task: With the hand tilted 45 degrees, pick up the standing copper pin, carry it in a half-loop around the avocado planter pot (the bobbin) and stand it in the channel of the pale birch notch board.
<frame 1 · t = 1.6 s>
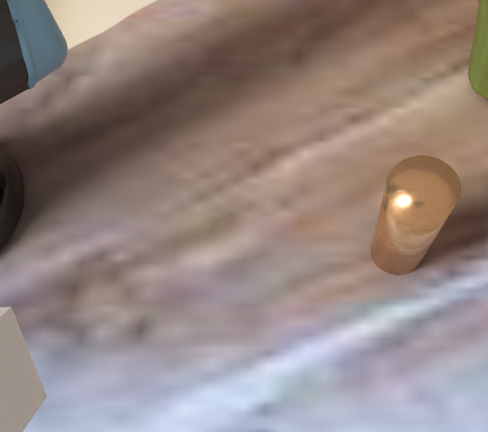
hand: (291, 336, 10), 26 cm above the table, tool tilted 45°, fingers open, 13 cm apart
copper pin: (396, 250, 36), on the table
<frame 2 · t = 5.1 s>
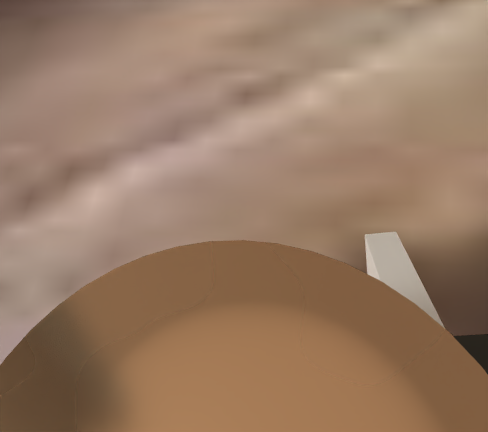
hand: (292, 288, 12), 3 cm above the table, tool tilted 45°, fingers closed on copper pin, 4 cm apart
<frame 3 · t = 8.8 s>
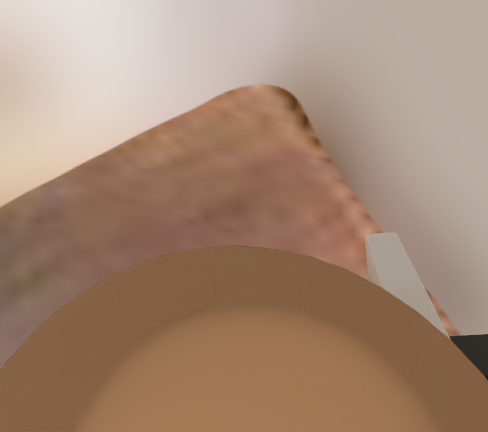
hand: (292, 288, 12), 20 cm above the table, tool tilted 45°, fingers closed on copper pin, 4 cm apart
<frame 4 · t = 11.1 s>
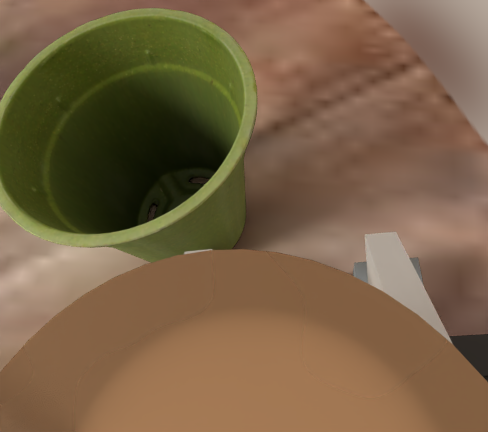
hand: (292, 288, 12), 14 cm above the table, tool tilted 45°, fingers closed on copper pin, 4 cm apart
notch board: (309, 419, 23), on the table
plant pot: (193, 217, 29), on the table
when the fingers open (5 cm above the table, at t = 12.8 s): copper pin stays where it is, resting on notch board.
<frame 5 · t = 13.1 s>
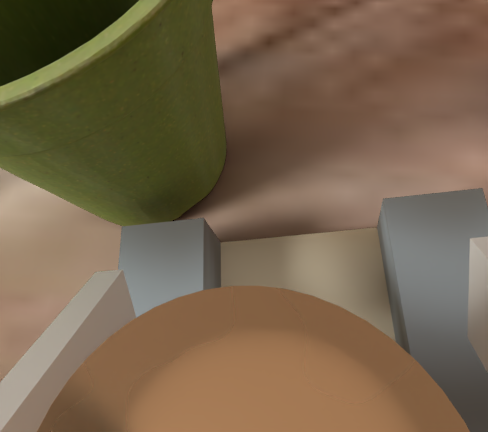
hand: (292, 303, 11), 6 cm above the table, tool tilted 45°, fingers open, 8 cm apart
plant pot: (157, 159, 21), on the table
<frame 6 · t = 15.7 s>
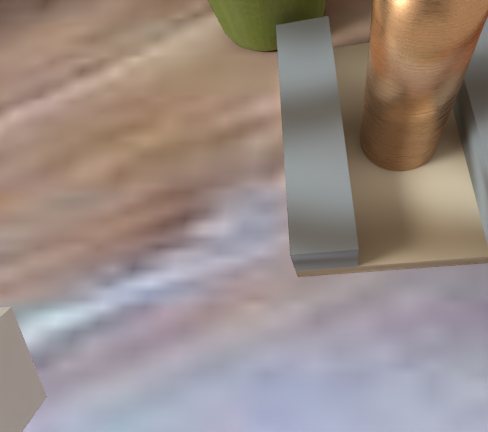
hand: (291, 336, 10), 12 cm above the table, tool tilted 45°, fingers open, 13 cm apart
notch board: (396, 147, 25), on the table
copper pin: (398, 138, 24), point 1 cm above the table, touching notch board
plant pot: (274, 15, 31), on the table
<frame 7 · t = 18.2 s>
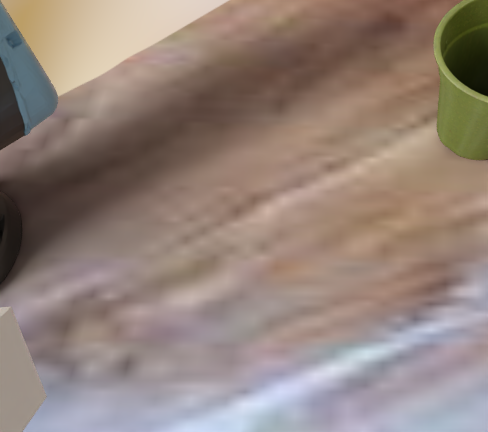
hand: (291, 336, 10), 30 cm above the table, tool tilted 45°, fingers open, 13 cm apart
plant pot: (475, 129, 44), on the table
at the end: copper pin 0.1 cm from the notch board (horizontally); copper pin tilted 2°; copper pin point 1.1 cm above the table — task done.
